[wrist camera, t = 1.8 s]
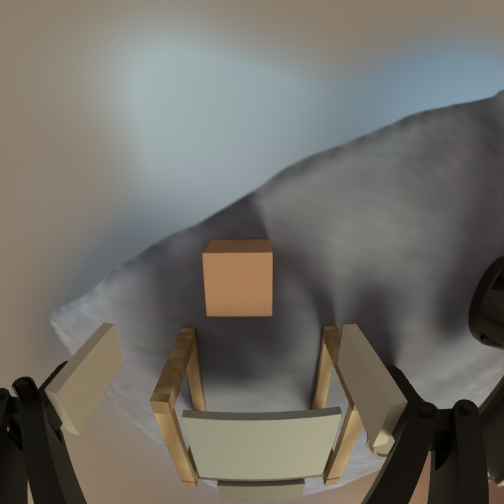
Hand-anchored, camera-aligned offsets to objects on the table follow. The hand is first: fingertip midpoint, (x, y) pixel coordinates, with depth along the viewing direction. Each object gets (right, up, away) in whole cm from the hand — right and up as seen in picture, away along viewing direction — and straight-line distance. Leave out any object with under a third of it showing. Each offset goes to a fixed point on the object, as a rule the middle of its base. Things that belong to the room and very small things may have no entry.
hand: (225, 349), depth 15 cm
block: (0, +4, +16) cm, 16 cm away
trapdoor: (+2, -17, +10) cm, 20 cm away
